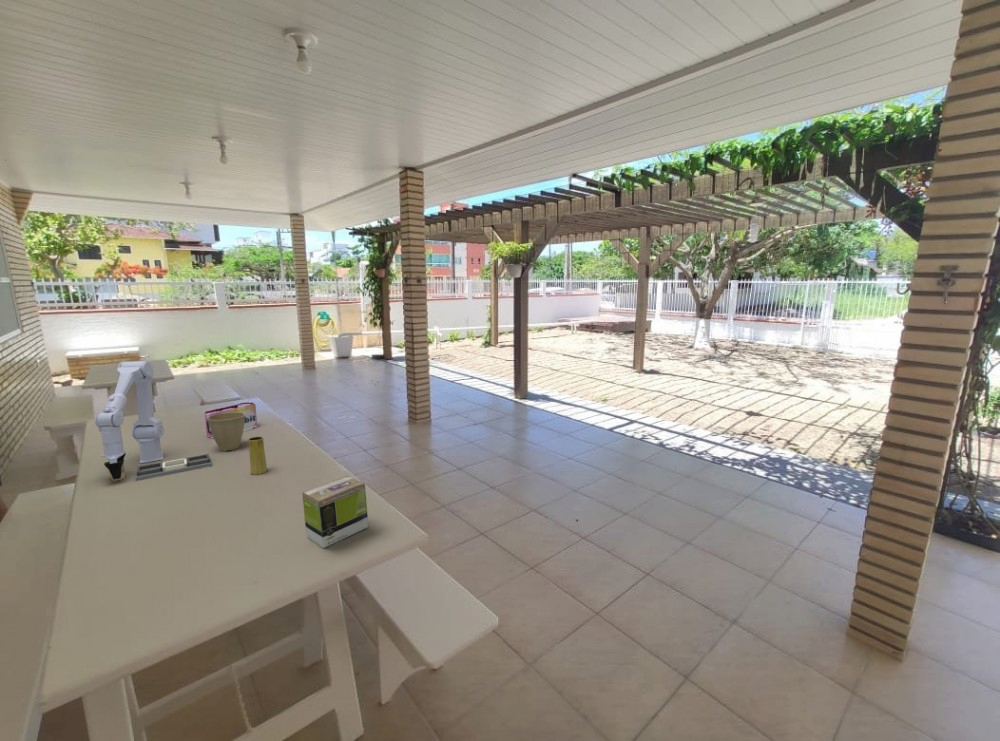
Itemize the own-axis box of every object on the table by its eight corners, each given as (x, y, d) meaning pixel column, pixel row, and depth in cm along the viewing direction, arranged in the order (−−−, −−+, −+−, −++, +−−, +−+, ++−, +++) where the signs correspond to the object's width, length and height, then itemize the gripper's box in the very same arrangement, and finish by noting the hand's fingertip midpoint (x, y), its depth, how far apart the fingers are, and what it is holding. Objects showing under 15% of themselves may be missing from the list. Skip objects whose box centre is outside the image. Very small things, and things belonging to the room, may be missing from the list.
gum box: (213, 440, 217) (210, 414, 215) (203, 438, 221) (200, 412, 219) (258, 427, 238) (255, 403, 236) (248, 425, 242) (246, 402, 240)
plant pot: (235, 454, 197) (232, 420, 195) (203, 454, 198) (199, 420, 195) (254, 443, 212) (251, 411, 210) (224, 443, 212) (221, 411, 210)
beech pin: (111, 478, 171) (109, 464, 170) (126, 475, 174) (124, 461, 173) (110, 482, 168) (108, 467, 167) (125, 479, 170) (123, 464, 169)
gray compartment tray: (137, 471, 177) (136, 465, 177) (210, 458, 192) (209, 452, 192) (135, 480, 169) (134, 474, 168) (212, 465, 184) (211, 460, 183)
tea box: (350, 518, 140) (348, 474, 138) (369, 528, 134) (366, 482, 131) (305, 537, 128) (301, 490, 126) (322, 549, 122) (319, 500, 120)
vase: (259, 475, 174) (256, 441, 171) (246, 474, 175) (243, 440, 172) (270, 469, 179) (267, 436, 177) (257, 468, 181) (254, 435, 178)
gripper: (101, 439, 172) (106, 472, 174) (96, 449, 160) (102, 484, 162) (124, 436, 176) (129, 467, 178) (121, 445, 164) (126, 479, 167)
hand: (117, 475), depth 170 cm, fingers open, 7 cm apart
